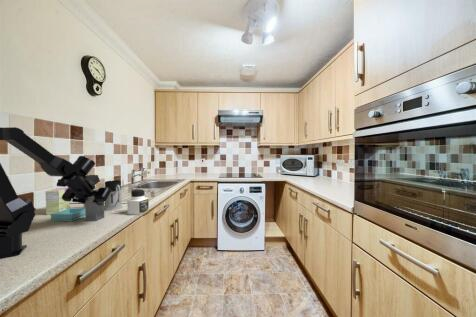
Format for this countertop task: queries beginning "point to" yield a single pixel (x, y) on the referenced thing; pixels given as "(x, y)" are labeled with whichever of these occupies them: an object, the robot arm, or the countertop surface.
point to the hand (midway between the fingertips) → (97, 204)
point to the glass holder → (113, 195)
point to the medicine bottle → (137, 202)
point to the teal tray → (68, 215)
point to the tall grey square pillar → (93, 210)
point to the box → (56, 201)
